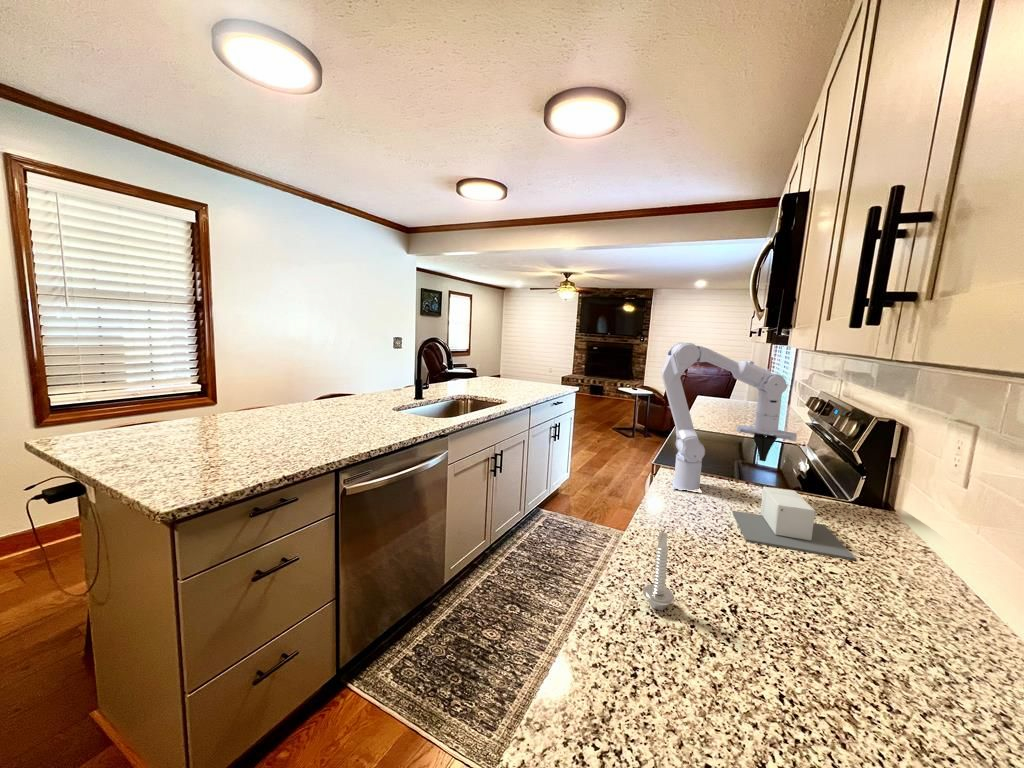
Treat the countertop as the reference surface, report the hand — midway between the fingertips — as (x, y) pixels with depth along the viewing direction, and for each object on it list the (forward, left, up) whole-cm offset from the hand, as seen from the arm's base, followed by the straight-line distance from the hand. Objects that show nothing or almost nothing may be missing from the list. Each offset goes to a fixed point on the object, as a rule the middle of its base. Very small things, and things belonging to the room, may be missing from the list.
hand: (762, 460), depth 115 cm
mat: (+26, 0, -10) cm, 28 cm away
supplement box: (+16, 0, -6) cm, 17 cm away
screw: (+64, -29, -11) cm, 71 cm away
